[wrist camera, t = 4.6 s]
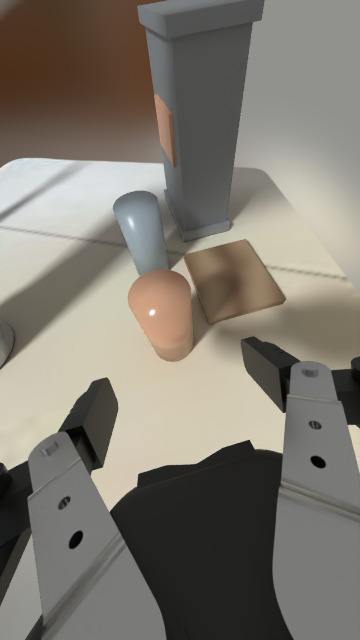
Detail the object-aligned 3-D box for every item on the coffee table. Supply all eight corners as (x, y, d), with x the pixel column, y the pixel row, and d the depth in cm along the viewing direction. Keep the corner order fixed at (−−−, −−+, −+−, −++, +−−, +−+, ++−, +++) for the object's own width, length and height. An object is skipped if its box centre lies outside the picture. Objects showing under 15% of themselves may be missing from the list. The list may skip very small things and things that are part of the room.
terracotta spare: (158, 366, 23) (132, 329, 14) (150, 329, 25) (124, 278, 16) (198, 354, 23) (199, 311, 14) (187, 319, 25) (181, 263, 17)
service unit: (183, 241, 32) (165, 15, 15) (165, 197, 39) (137, 6, 21) (228, 230, 33) (265, -4, 15) (202, 188, 40) (206, -7, 22)
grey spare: (140, 283, 29) (115, 222, 20) (135, 260, 31) (111, 196, 23) (172, 275, 29) (161, 210, 20) (165, 253, 32) (152, 187, 23)
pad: (209, 324, 25) (209, 320, 24) (184, 259, 30) (183, 254, 30) (282, 303, 25) (285, 299, 24) (244, 244, 31) (245, 239, 30)
